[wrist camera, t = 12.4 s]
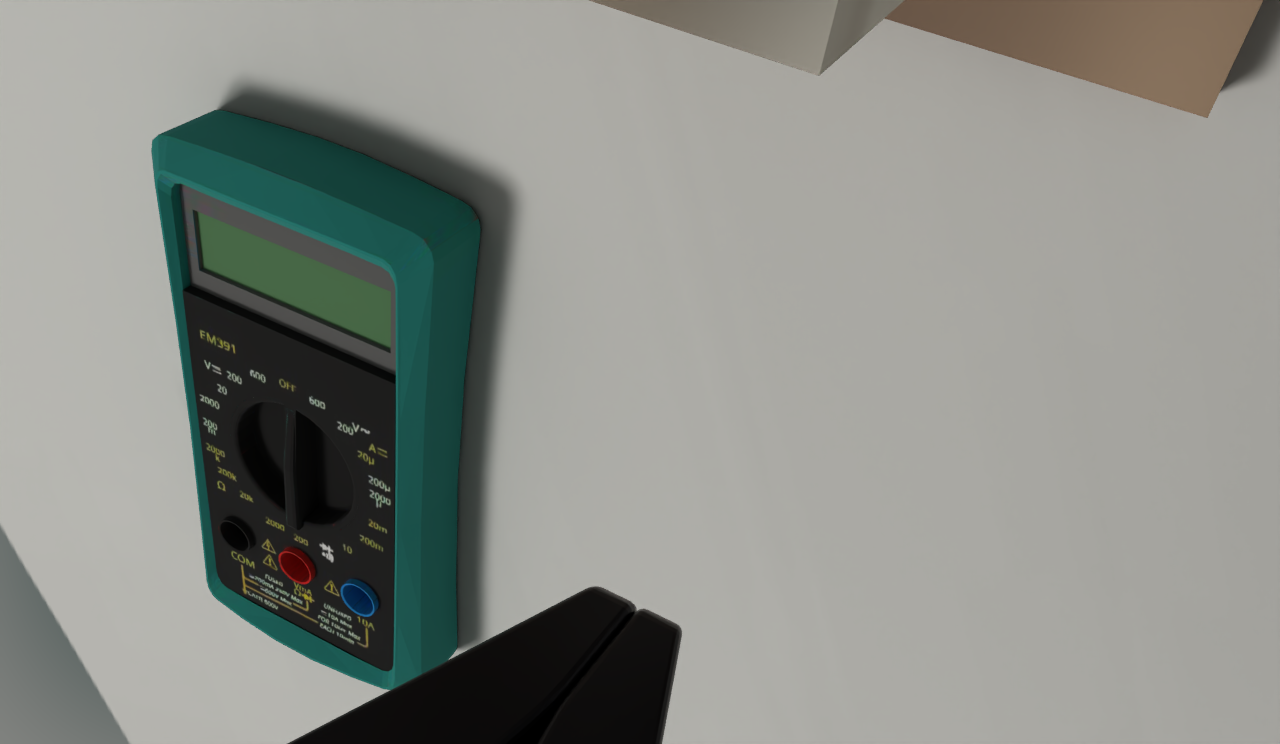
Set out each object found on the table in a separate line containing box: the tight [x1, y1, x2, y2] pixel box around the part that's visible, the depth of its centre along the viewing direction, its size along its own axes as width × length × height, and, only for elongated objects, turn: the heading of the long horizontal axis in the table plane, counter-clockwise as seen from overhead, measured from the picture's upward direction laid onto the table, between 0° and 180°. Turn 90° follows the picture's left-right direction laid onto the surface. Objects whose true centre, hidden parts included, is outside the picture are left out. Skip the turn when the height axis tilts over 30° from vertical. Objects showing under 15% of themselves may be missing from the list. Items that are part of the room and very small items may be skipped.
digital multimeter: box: [152, 110, 481, 690], centre depth 29 cm, size 7×15×3 cm, turn 173°
